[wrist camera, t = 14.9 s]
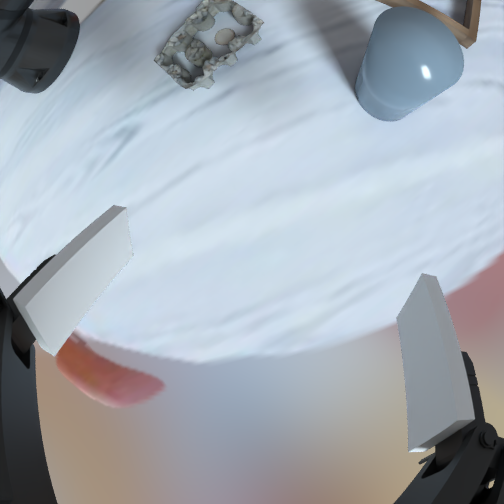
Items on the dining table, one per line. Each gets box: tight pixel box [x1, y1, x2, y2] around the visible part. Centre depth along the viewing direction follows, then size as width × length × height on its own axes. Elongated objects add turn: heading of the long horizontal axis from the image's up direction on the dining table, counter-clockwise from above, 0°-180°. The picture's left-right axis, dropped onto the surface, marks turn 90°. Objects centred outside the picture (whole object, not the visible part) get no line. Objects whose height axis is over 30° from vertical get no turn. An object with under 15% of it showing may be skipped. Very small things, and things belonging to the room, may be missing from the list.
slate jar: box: [355, 6, 464, 121], centre depth 17 cm, size 6×6×12 cm
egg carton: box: [154, 0, 264, 91], centre depth 23 cm, size 11×8×4 cm
